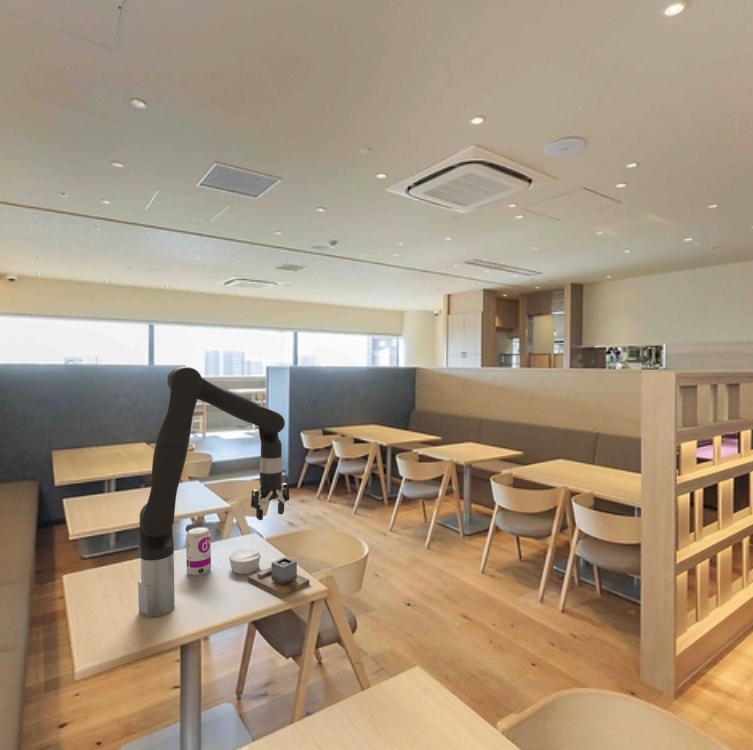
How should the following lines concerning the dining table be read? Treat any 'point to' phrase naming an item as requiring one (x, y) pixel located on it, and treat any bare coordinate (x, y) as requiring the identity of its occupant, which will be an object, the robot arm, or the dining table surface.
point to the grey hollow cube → (284, 571)
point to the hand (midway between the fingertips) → (270, 516)
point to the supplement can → (198, 551)
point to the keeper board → (266, 582)
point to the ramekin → (244, 561)
